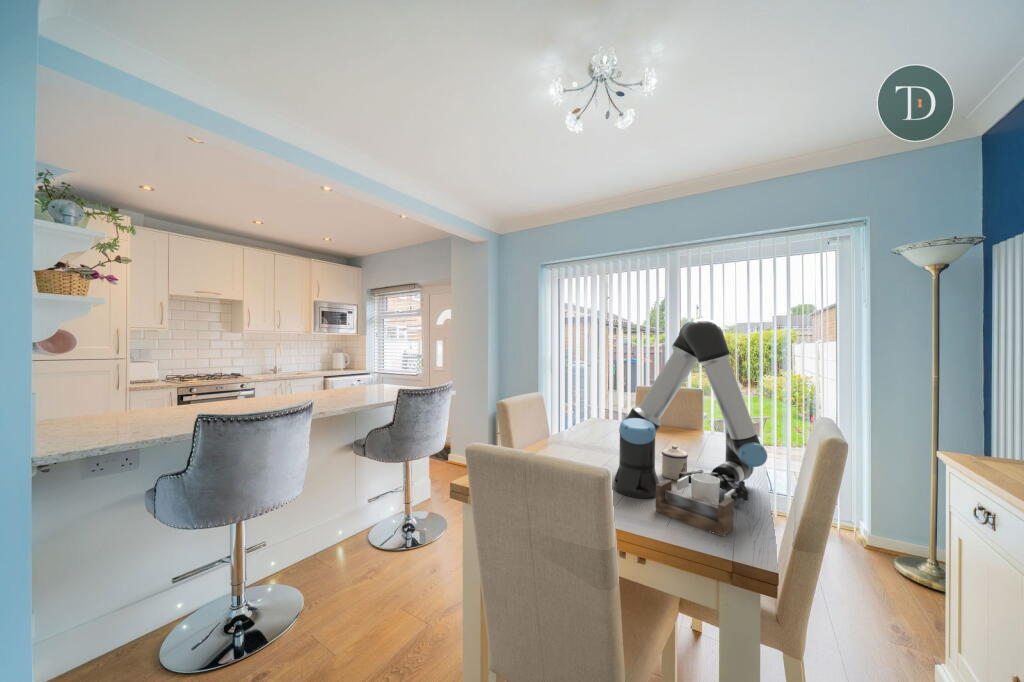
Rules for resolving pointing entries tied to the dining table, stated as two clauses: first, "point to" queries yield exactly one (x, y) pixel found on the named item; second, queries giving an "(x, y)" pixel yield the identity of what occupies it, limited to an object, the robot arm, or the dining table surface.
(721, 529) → the offcut rack
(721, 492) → the slate mat
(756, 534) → the dining table surface
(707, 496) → the white cup
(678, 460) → the teacup with lid
